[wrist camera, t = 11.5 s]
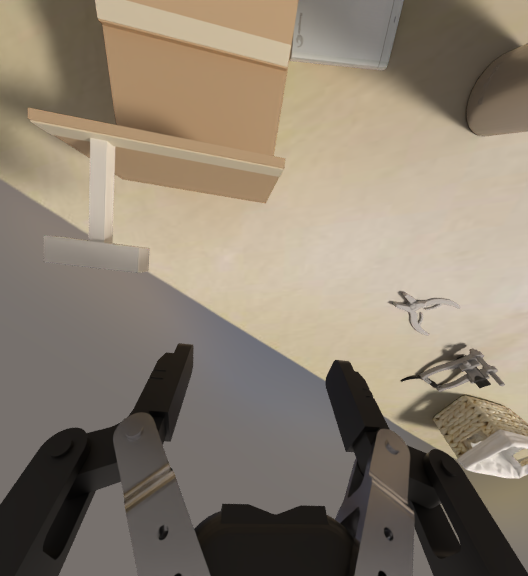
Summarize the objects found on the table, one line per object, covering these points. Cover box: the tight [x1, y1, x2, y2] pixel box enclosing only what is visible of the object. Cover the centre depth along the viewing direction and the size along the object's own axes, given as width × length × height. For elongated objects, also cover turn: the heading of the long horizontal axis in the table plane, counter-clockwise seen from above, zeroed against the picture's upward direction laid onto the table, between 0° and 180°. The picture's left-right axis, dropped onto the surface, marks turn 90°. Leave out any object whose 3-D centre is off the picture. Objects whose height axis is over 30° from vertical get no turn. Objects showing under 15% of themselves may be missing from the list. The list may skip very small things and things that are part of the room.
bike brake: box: [401, 349, 505, 391], centre depth 58 cm, size 14×7×20 cm
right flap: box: [28, 108, 285, 273], centre depth 20 cm, size 16×11×9 cm
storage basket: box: [433, 395, 528, 479], centre depth 66 cm, size 24×16×15 cm
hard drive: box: [290, 0, 404, 71], centre depth 25 cm, size 2×8×12 cm
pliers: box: [393, 292, 460, 335], centre depth 48 cm, size 10×2×15 cm
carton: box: [95, 0, 299, 156], centre depth 19 cm, size 16×22×19 cm
